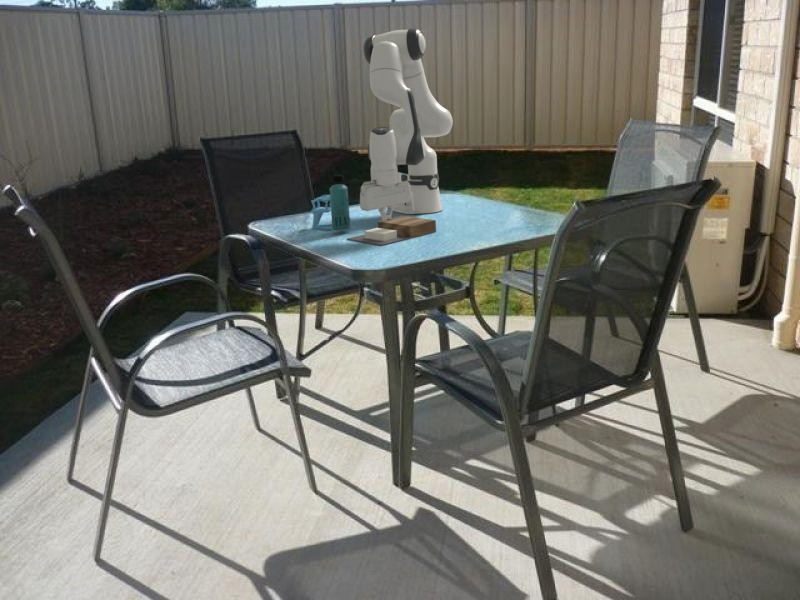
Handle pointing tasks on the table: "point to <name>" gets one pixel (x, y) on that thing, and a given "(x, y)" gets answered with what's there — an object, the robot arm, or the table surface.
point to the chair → (321, 213)
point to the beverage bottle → (339, 204)
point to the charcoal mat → (378, 242)
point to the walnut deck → (409, 226)
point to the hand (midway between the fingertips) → (386, 220)
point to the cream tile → (380, 234)
